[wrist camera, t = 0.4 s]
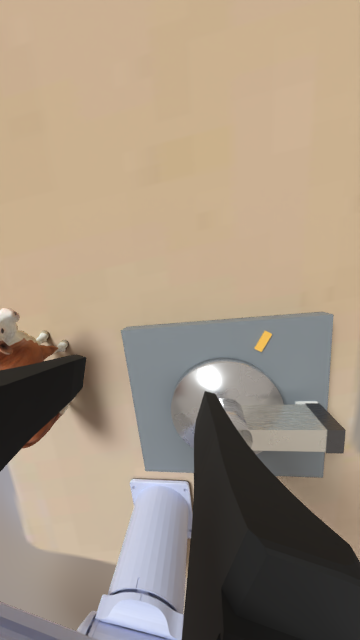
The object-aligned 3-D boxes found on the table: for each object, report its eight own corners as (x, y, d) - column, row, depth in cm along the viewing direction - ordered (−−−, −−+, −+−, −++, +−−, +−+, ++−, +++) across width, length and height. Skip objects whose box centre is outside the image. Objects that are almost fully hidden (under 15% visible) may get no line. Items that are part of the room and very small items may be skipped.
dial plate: (314, 463, 21) (324, 479, 19) (148, 459, 24) (145, 472, 22) (322, 311, 18) (334, 314, 16) (126, 326, 20) (120, 331, 19)
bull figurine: (68, 300, 21) (-16, 312, 13) (85, 405, 23) (25, 469, 15) (33, 301, 21) (-68, 313, 13) (54, 403, 24) (-19, 464, 16)
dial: (309, 451, 19) (339, 498, 15) (178, 448, 21) (172, 489, 17) (314, 352, 17) (350, 376, 13) (167, 360, 19) (157, 382, 15)
